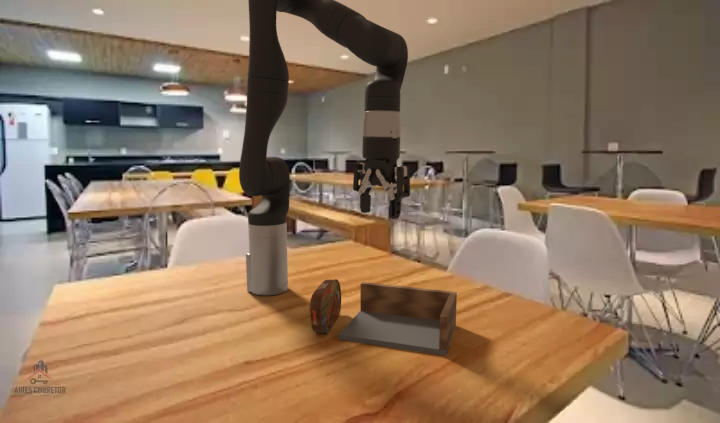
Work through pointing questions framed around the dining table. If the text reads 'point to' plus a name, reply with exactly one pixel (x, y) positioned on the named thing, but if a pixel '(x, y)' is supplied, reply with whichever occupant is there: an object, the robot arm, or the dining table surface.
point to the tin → (325, 306)
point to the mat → (395, 332)
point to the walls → (412, 305)
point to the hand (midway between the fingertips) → (379, 215)
